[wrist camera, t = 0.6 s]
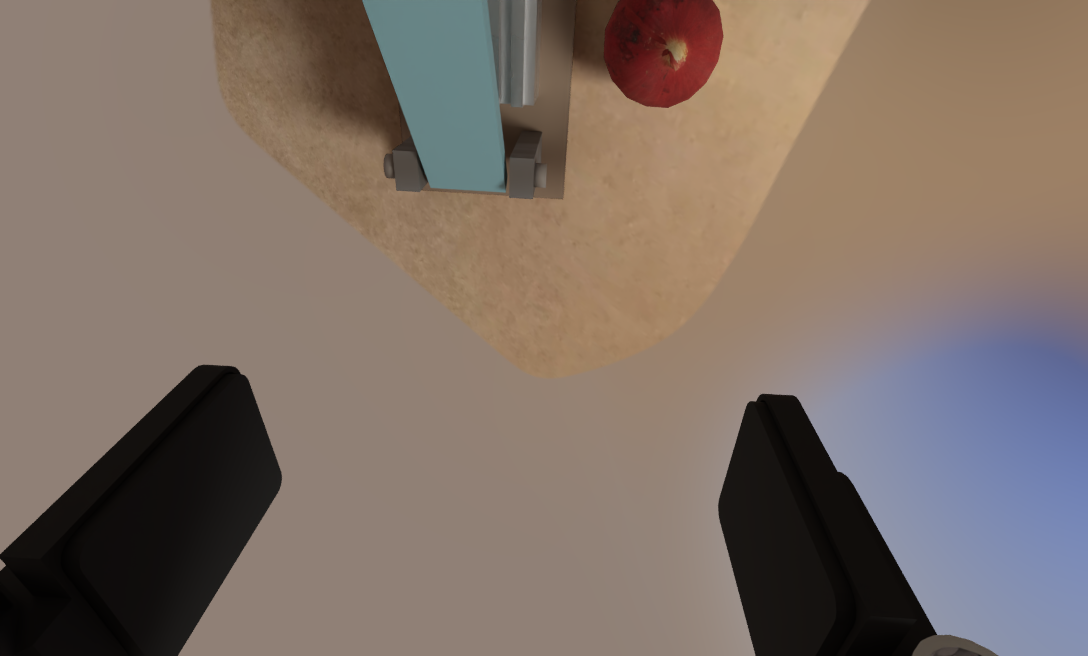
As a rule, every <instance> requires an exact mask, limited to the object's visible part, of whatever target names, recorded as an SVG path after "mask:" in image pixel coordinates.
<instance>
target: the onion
mask: <svg viewBox="0 0 1088 656" xmlns="http://www.w3.org/2000/svg"><path fill="white" fill-rule="evenodd" d="M722 40H723V30H722V24H721V17H720V11H719V9H718V8H717V6H716V5H715V3H714V2H713V0H620V1H619V2H618V3H617V5H616V7H615V9H614V12H613V14H612V16H611V18H610V20H609V22H608V24H607V27H606V29H605V40H604V60H605V63H606V65H607V68H608V71H609V74H610V76H611V79H612V81H613V82H614V83H615V84H616V85H617V87H618V88H619V89H620V90H621V91H622V92H623V93H624V95H625V96H626V97H627V98H629V99H631V100H633V101H636V102H638V103H640V104H642V105H645V106H650V107H663V108H669V107H671V106H673V105H676V104H678V103H680V102H683V101H685V100H688V99H689V98H690V97H691V96H693V95H694V94H695V93H696V92H697V91H698V90H699V89H700V88H701V87H702V86H703V85H704V84H706V82H707V80H708V79H709V77H710V75H711V73H712V71H713V70H714V68H715V66H716V64H717V62H718V59H719V54H720V50H721V45H722Z"/></svg>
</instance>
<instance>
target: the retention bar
mask: <svg viewBox="0 0 1088 656" xmlns="http://www.w3.org/2000/svg"><path fill="white" fill-rule="evenodd" d="M362 1H363V4H364V7H365V10H366V12H367V15H368V18H369V21H370V23H371V26H372V29H373V31H374V34H375V37H376V40H377V42H378V45H379V48H380V51H381V53H382V56H383V59H384V62H385V64H386V67H387V70H388V73H389V75H390V78H391V81H392V83H393V86H394V89H395V92H396V94H397V97H398V100H399V103H400V105H401V108H402V111H403V114H404V116H405V119H406V122H407V125H408V127H409V130H410V133H411V135H412V138H413V141H414V144H415V146H416V149H417V152H418V155H419V157H420V160H421V163H422V166H423V168H424V171H425V174H426V176H427V179H428V182H429V185H430V187H431V188H440V189H456V190H472V191H488V192H504V193H506V187H507V178H508V175H507V166H506V158H505V149H504V141H503V132H502V123H501V115H500V106H499V98H498V89H497V80H496V72H495V63H494V54H493V46H492V37H491V29H490V20H489V11H488V3H487V0H362Z"/></svg>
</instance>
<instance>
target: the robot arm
mask: <svg viewBox="0 0 1088 656" xmlns="http://www.w3.org/2000/svg"><path fill="white" fill-rule="evenodd" d="M281 481H282V475H281V471H280V468H279V465H278V462H277V459H276V456H275V454H274V451H273V448H272V445H271V442H270V439H269V437H268V434H267V431H266V429H265V425H264V423H263V420H262V417H261V414H260V412H259V409H258V406H257V403H256V400H255V397H254V395H253V392H252V389H251V386H250V383H249V381H248V379H247V378H246V376H245V375H242V374H240V372H239V370H238V369H237V368H236V367H232V366H218V365H201V366H198V367H196V368H195V369H194V370H192V371H191V372H190V374H188V375H187V376H186V377H185V378H184V379H183V380H182V381H181V382H180V383H179V384H178V385H177V386H176V387H175V388H174V389H173V390H172V391H171V392H169V393H168V394H167V396H165V397H164V398H163V399H162V400H161V401H160V402H159V403H158V404H157V405H156V406H155V407H154V408H153V409H152V410H151V411H150V412H149V413H148V414H146V415H145V416H144V417H143V418H142V419H141V420H140V421H139V422H138V423H137V424H136V425H135V426H134V427H133V428H132V429H131V430H130V431H129V432H128V433H127V434H126V435H124V437H123V438H121V439H120V440H119V441H118V442H117V443H116V444H115V445H114V446H113V447H112V448H111V449H110V450H109V451H108V452H107V453H106V454H105V455H104V456H103V457H102V458H101V459H100V460H98V461H97V462H96V463H95V464H94V465H93V466H92V467H91V468H90V469H89V470H88V471H87V472H86V473H85V474H84V475H83V476H82V477H81V478H80V479H78V480H77V481H76V482H75V483H74V484H73V485H72V486H71V487H70V488H69V489H68V490H67V491H66V492H65V493H64V494H63V495H62V496H61V497H60V498H59V499H58V500H57V501H56V502H55V503H53V504H52V505H51V506H50V507H49V508H48V509H47V510H46V511H45V512H44V513H43V514H42V515H41V516H40V517H39V518H38V519H37V520H36V521H35V522H34V523H32V525H30V526H29V527H28V528H27V529H26V530H25V531H24V532H23V533H22V534H21V535H20V536H19V537H18V538H17V539H16V540H15V541H14V542H13V543H12V544H11V545H9V546H8V548H6V549H5V550H4V551H3V552H2V553H1V554H0V559H1V560H2V561H3V562H4V563H5V564H6V566H5V567H4V568H3V569H2V570H1V571H0V656H178V654H179V653H180V651H181V649H182V648H183V646H184V645H185V643H186V641H187V640H188V638H189V636H190V635H191V633H192V632H193V630H194V628H195V627H196V625H197V623H198V622H199V620H200V619H201V617H202V615H203V614H204V612H205V610H206V609H207V607H208V606H209V604H210V602H211V601H212V599H213V597H214V596H215V594H216V592H217V591H218V589H219V588H220V586H221V584H222V583H223V581H224V579H225V578H226V576H227V574H228V573H229V571H230V570H231V568H232V566H233V565H234V563H235V562H236V560H237V558H238V557H239V555H240V553H241V552H242V550H243V549H244V547H245V545H246V544H247V542H248V540H249V539H250V537H251V536H252V534H253V532H254V531H255V529H256V527H257V526H258V524H259V523H260V521H261V519H262V517H263V516H264V514H265V513H266V511H267V509H268V508H269V506H270V504H271V503H272V501H273V500H274V498H275V496H276V495H277V493H278V491H279V489H280V486H281ZM718 511H719V519H720V523H721V527H722V531H723V534H724V538H725V542H726V546H727V550H728V553H729V557H730V561H731V565H732V568H733V572H734V576H735V580H736V583H737V587H738V591H739V594H740V599H741V602H742V606H743V610H744V614H745V617H746V621H747V625H748V628H749V632H750V636H751V640H752V644H753V647H754V651H755V655H756V656H998V655H996V654H995V653H994V652H992V651H990V650H989V649H987V648H985V647H983V646H981V645H978V644H976V643H975V642H972V641H970V640H967V639H963V638H959V637H956V636H952V635H937V634H936V632H935V630H934V628H933V627H932V625H931V623H930V621H929V619H928V618H927V616H926V614H925V612H924V610H923V609H922V607H921V605H920V603H919V601H918V600H917V598H916V596H915V594H914V593H913V591H912V589H911V587H910V585H909V584H908V582H907V580H906V578H905V577H904V575H903V573H902V571H901V569H900V567H899V566H898V564H897V562H896V560H895V559H894V557H893V555H892V553H891V551H890V550H889V548H888V546H887V544H886V542H885V541H884V539H883V537H882V535H881V534H880V532H879V530H878V528H877V526H876V525H875V523H874V521H873V519H872V517H871V516H870V514H869V512H868V510H867V508H866V507H865V505H864V503H863V501H862V500H861V498H860V496H859V494H858V492H857V491H856V489H855V487H854V485H853V484H852V482H851V481H850V480H849V478H848V477H847V476H846V475H844V474H843V473H841V472H837V470H836V468H835V466H834V465H833V462H832V461H831V459H830V457H829V455H828V453H827V451H826V450H825V448H824V446H823V444H822V442H821V441H820V439H819V437H818V435H817V433H816V431H815V429H814V427H813V426H812V424H811V422H810V420H809V418H808V416H807V414H806V413H805V411H804V409H803V407H802V405H801V403H800V402H799V400H798V399H797V397H795V396H793V395H773V394H761V395H760V396H759V397H758V399H757V401H756V402H754V401H750V402H749V403H748V404H747V406H746V409H745V413H744V416H743V419H742V423H741V426H740V430H739V433H738V437H737V440H736V444H735V447H734V450H733V454H732V457H731V461H730V464H729V467H728V471H727V474H726V477H725V481H724V484H723V488H722V491H721V495H720V498H719V504H718Z"/></svg>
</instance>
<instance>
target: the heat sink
mask: <svg viewBox="0 0 1088 656" xmlns="http://www.w3.org/2000/svg"><path fill="white" fill-rule="evenodd" d="M487 3H488V11H489V20H490V29H491V37H492V46H493V54H494V63H495V72H496V80H497V89H498V98H499V105H500V104H511V107H523V106H524V105H534V104H535V102H536V99H537V97H538V95H539V69H540V42H541V14H542V0H487Z"/></svg>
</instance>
